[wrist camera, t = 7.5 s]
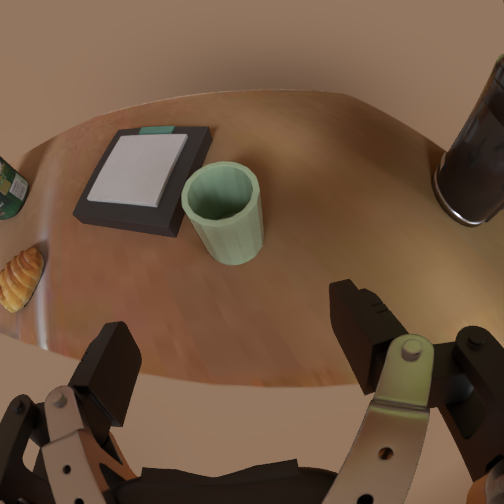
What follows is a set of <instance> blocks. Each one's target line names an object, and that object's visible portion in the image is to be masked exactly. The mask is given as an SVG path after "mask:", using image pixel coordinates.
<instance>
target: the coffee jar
mask: <svg viewBox="0 0 504 504" xmlns="http://www.w3.org/2000/svg"><path fill="white" fill-rule="evenodd" d="M27 192H28V181H27V180H26V179H25V178H24V177H23V176H21V175H20V174H19V173H18V172H17V171H16V170H15V169H13V168H12V167H11V166H10V165H9V164H8V163H7V162H6V161H5V160H3V158H2V157H0V220H3V219H8V218H11V217H13V216H14V215H16V214H17V212H18V211H19V209H20V207H21V206H22V204H23V203H24V201H25V198H26V196H27Z"/></svg>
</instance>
